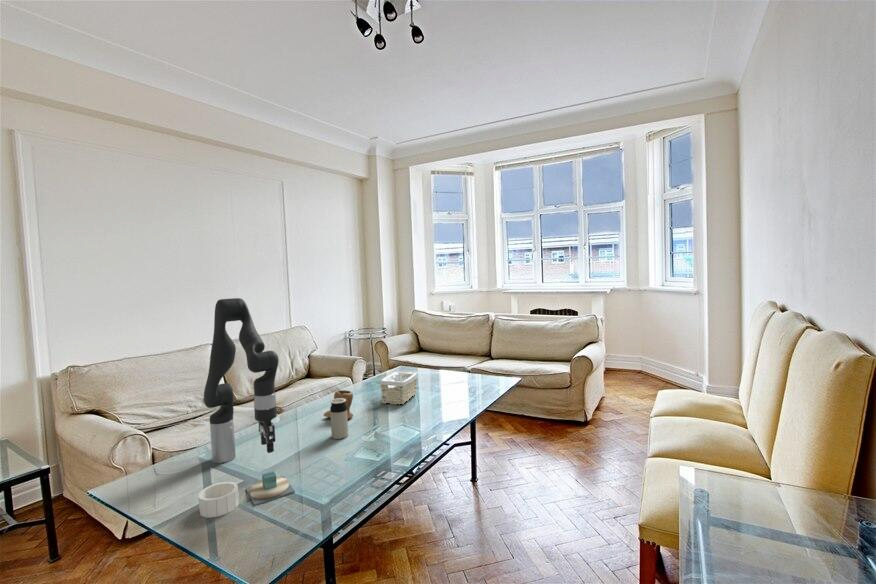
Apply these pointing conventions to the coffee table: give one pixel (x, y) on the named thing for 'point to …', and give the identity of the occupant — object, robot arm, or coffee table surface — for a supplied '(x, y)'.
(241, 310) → the robot arm
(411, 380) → the storage basket
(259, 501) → the mat
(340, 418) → the travel mug
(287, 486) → the lid
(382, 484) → the coffee table surface
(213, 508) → the bowl
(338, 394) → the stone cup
